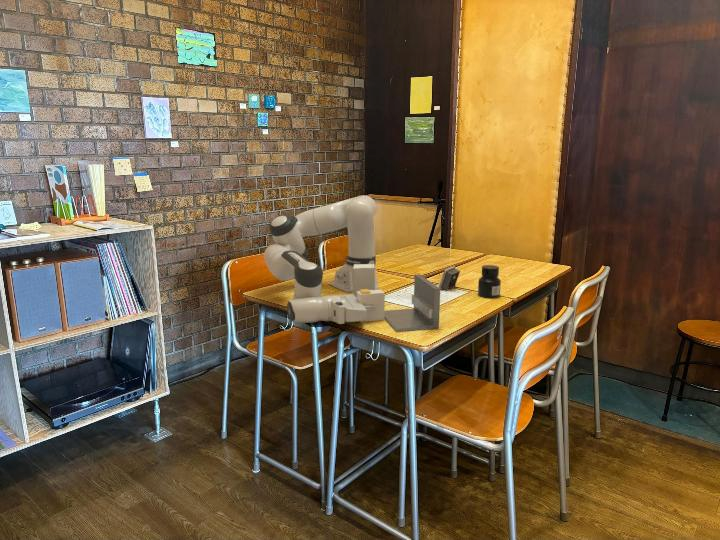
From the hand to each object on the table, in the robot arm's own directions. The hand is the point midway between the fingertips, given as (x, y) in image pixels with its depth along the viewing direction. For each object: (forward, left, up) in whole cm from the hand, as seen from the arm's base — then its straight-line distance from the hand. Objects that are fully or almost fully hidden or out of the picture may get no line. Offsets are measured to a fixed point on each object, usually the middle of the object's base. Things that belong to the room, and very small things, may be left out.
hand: (372, 305), depth 195 cm
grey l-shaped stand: (+10, +8, -5) cm, 14 cm away
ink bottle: (+12, +56, -5) cm, 57 cm away
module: (0, -1, -5) cm, 5 cm away
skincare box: (-14, +10, -5) cm, 18 cm away
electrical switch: (-6, +53, -5) cm, 53 cm away
